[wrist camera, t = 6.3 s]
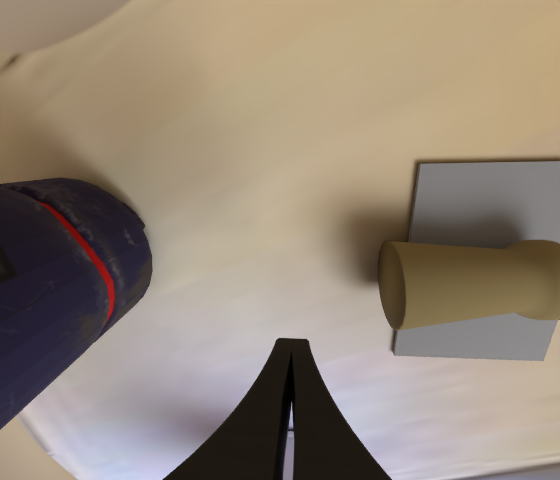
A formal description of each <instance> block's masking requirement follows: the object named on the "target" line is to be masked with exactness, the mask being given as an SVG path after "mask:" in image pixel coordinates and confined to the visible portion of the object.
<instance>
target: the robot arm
mask: <svg viewBox="0 0 560 480" xmlns="http://www.w3.org/2000/svg"><path fill="white" fill-rule="evenodd" d="M291 403H292V412H293V430H294V432H293V431H288V427H289V419H290V411H291ZM163 480H392V479H391V478H390V477H389V476H388V475H387V473H386V472H385V471H384V470H383V469H382V468H381V466H380V465H379V464H378V463H377V462H376V460H375V459H374V458H373V457H372V456H371V454H370V453H369V452H368V450H367V449H366V448H365V446H364V445H363V444H362V442H361V441H360V440H359V438H358V437H357V436H356V434H355V433H354V432H353V430H352V429H351V427H350V426H349V424H348V423H347V421H346V420H345V418H344V417H343V415H342V414H341V412H340V410H339V409H338V407H337V405H336V404H335V402H334V400H333V399H332V397H331V395H330V393H329V391H328V389H327V387H326V385H325V383H324V381H323V379H322V377H321V375H320V373H319V370H318V368H317V366H316V363H315V361H314V358H313V355H312V352H311V349H310V345H309V341H308V340H307V339H291V338H278V339H277V340H276V342H275V345H274V348H273V350H272V352H271V354H270V356H269V358H268V360H267V362H266V364H265V365H264V367H263V369H262V371H261V373H260V374H259V376H258V377H257V379H256V380H255V382H254V384H253V385H252V387H251V388H250V390H249V391H248V393H247V394H246V395H245V397H244V398H243V399H242V401H241V402H240V403H239V405H238V406H237V407H236V408H235V410H234V411H233V412H232V413H231V414H230V416H229V417H228V418H227V419H226V420H225V421H224V423H223V424H222V425H221V426H220V427H219V428H218V429H217V430H216V431H215V432H214V433H213V434H212V435H211V436H210V437H209V438H208V439H207V440H206V441H205V442H204V443H203V444H202V445H201V446H200V447H199V448H198V449H197V450H196V451H195V452H194V453H193V454H192V455H191V456H190V457H189V458H187V459H186V460H185V461H184V462H183V463H182V464H180V465H179V466H178V467H177V468H176V469H175V470H173V471H172V472H171V473H170V474H169V475H168V476H166V477H165V478H164V479H163Z"/></svg>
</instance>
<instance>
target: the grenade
mask: <svg viewBox="0 0 560 480" xmlns="http://www.w3.org/2000/svg"><path fill="white" fill-rule="evenodd" d="M144 227H145V225H144V223H143V222H142V221H141V219H140V218H139V217H138V216H137V214H136V213H135V212H134V211H133V210H131V209H130V208H129V207H128V206H127V205H126V204H125V203H121V202H119V201H118V200H117V199H116V198H115V197H114V196H112V195H111V194H109V193H107V192H106V191H104V190H102V189H101V188H99V187H97V186H95V185H92V184H89V183H86V182H83V181H81V180H76V179H68V178H53V179H43V180H34V181H24V182H15V183H6V184H0V429H1V428H3V427H4V426H5V425H6V424H7V423H8V422H9V421H10V420H12V419H13V418H14V417H15V416H16V415H17V414H18V413H19V412H20V411H22V410H23V408H24V407H25V406H27V405H28V404H29V403H30V402H31V401H32V400H33V399H34V398H35V397H36V396H37V395H38V394H40V393H41V392H42V391H43V390H44V389H45V388H46V387H47V386H48V385H49V384H50V383H51V382H53V381H54V380H55V379H56V378H57V377H58V376H59V375H60V374H61V373H62V372H63V371H65V370H66V369H67V368H68V367H69V366H70V365H71V364H72V363H73V362H74V361H75V360H76V359H78V358H79V357H80V356H81V355H82V354H83V353H84V352H85V351H86V350H87V349H88V348H89V347H90V346H91V345H92V344H93V343H94V342H96V341H97V340H98V339H99V338H100V337H101V336H102V335H103V334H104V333H105V332H106V331H108V330H109V329H110V328H111V327H112V326H113V325H114V324H115V323H116V322H117V321H118V320H120V319H121V318H122V317H123V316H124V315H125V314H126V313H127V312H128V311H129V310H130V309H131V308H133V307H134V306H135V305H136V304H137V303H138V302H139V300H140V299H141V298H142V297H143V296H144V294H145V292H146V290H147V289H148V287H149V285H150V280H151V275H152V254H151V251H150V247H149V244H148V240H147V238H146V236H145V234H144V232H143V229H144Z"/></svg>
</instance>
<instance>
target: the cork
mask: <svg viewBox="0 0 560 480" xmlns="http://www.w3.org/2000/svg"><path fill="white" fill-rule="evenodd" d="M378 283H379V291H380V298H381V302H382V307H383V310H384V313H385V316H386V319H387V321H388V322H389V324H390V326H391V327H392V328H393V329H394V330H405V329H412V328H418V327H425V326H431V325H438V324H444V323H451V322H457V321H464V320H470V319H477V318H483V317H490V316H496V315H503V314H509V313H516V314H518V315H520V316H523V317H526V318H530V319H534V320H560V243H557V242H554V241H549V240H523V241H519V242H516V243H513V244H511V245H508V246H506V247H505V248H504V249H494V248H480V247H466V246H452V245H438V244H424V243H410V242H396V241H385V242H384V243H383V244H382V247H381V250H380V253H379V260H378Z"/></svg>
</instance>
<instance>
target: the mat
mask: <svg viewBox="0 0 560 480" xmlns="http://www.w3.org/2000/svg"><path fill="white" fill-rule="evenodd" d="M523 240H549V241H554V242H557V243H560V161H532V162H478V163H423V164H418V169H417V177H416V184H415V192H414V199H413V207H412V214H411V222H410V229H409V236H408V242H410V243H424V244H438V245H452V246H466V247H480V248H494V249H504V248H505V247H506V246H508V245H511V244H513V243H516V242H519V241H523ZM557 321H558V320H534V319H530V318H526V317H523V316H520V315H518V314H516V313H509V314H503V315H496V316H490V317H483V318H477V319H470V320H464V321H457V322H451V323H444V324H438V325H431V326H425V327H418V328H412V329H405V330H396V333H395V341H394V348H393V354H394V356H419V357H446V358H473V359H500V360H527V361H543V360H544V358H545V355H546V352H547V349H548V346H549V343H550V340H551V338H552V335H553V332H554V329H555V326H556V323H557Z"/></svg>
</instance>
